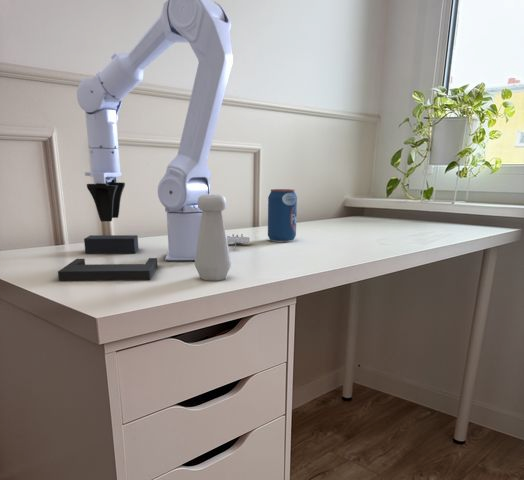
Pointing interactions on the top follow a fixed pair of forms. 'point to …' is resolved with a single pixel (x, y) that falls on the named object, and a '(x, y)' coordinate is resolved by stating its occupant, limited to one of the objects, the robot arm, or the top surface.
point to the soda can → (282, 215)
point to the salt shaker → (212, 239)
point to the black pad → (107, 271)
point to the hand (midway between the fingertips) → (109, 219)
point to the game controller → (237, 239)
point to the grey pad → (111, 244)
